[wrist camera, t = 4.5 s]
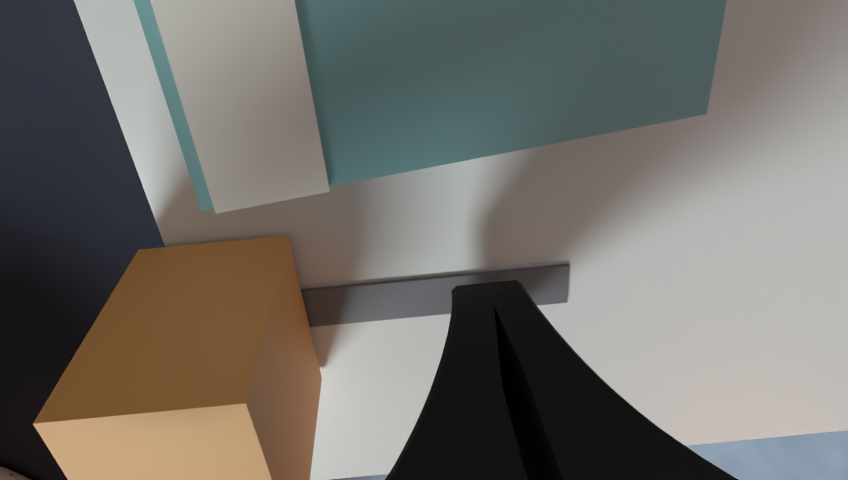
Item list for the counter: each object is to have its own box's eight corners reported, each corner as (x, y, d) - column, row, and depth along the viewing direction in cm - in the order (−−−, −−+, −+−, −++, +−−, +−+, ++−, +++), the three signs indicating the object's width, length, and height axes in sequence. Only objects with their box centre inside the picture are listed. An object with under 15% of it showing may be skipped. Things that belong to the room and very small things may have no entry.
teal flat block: (714, -215, 8) (775, -224, 8) (670, 94, 11) (712, 117, 10) (98, -161, 7) (77, -164, 6) (203, 180, 9) (201, 216, 9)
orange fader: (287, 235, 12) (245, 403, 9) (321, 377, 15) (299, 561, 11) (138, 249, 12) (32, 423, 9) (194, 390, 15) (128, 577, 11)
